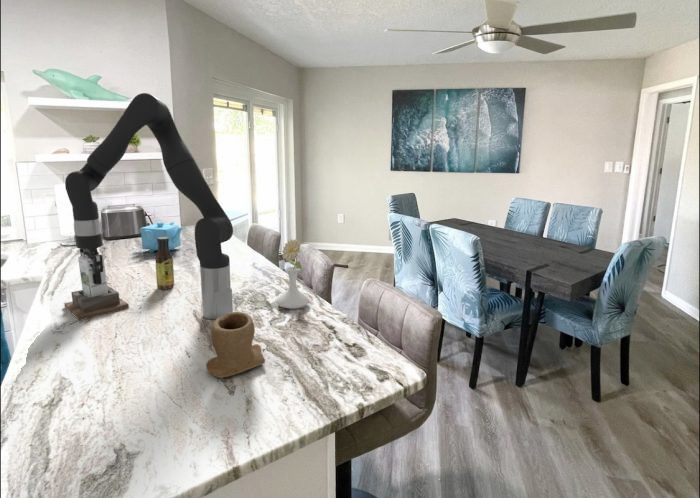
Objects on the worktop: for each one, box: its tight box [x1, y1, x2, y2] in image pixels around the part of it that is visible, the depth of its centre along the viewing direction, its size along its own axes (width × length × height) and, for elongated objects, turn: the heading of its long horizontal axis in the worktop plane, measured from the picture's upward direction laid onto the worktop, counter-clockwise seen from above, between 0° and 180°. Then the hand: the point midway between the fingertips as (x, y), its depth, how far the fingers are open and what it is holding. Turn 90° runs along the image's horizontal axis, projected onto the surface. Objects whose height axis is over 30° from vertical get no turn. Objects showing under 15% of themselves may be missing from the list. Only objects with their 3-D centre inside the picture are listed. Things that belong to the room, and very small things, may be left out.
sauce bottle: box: [155, 237, 175, 291], centre depth 166 cm, size 6×6×20 cm
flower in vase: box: [276, 238, 310, 310], centre depth 151 cm, size 13×11×25 cm
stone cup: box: [205, 311, 266, 379], centre depth 109 cm, size 15×12×15 cm
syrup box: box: [77, 255, 108, 298], centre depth 145 cm, size 6×6×14 cm
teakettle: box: [139, 221, 186, 253], centre depth 221 cm, size 19×19×15 cm
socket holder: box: [64, 285, 130, 321], centre depth 147 cm, size 15×15×6 cm
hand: (94, 281), depth 145 cm, fingers closed on syrup box, 6 cm apart
